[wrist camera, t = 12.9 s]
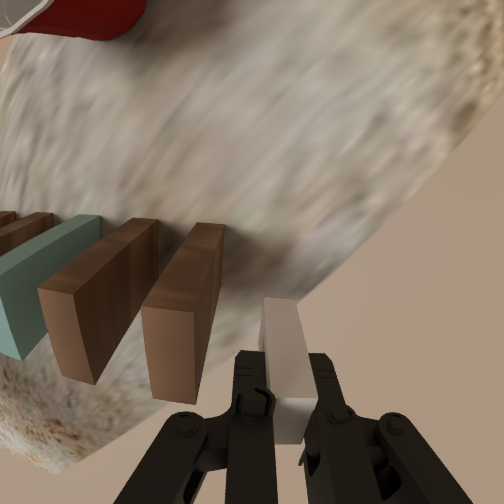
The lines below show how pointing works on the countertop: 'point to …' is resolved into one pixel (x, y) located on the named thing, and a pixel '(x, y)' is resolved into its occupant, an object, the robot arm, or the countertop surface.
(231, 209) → the countertop surface
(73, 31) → the plastic cup
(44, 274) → the domino
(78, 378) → the domino
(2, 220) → the domino
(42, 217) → the domino
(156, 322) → the domino
